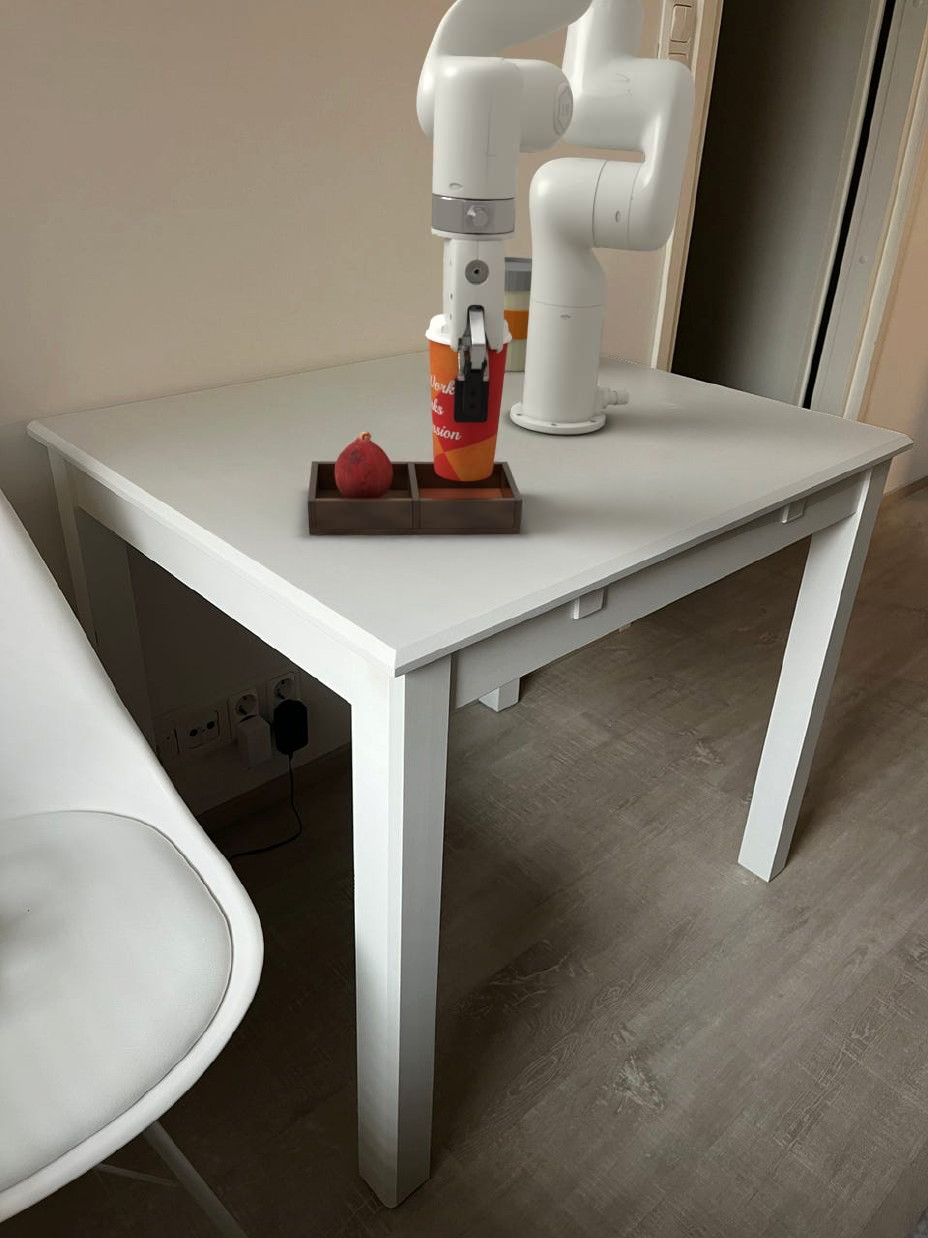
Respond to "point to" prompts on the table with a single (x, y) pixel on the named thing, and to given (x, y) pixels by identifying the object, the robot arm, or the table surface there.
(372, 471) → the red round fruit
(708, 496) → the table surface
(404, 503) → the organizer
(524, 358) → the reusable coffee cup
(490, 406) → the coffee cup
